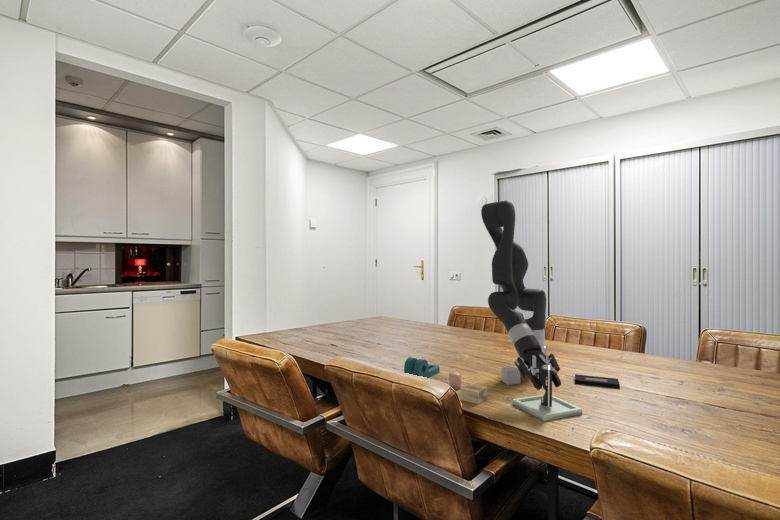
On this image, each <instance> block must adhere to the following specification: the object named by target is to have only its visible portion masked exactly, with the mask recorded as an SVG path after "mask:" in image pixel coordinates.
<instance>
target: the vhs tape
mask: <svg viewBox="0 0 780 520" xmlns="http://www.w3.org/2000/svg"><path fill="white" fill-rule="evenodd" d="M574 384H575V385H584V386H591V387H592V386H593V387H599V388H600V387H601V388H609V389H610V388H611V389H618V390H620V388H621V385H620V381H619V378H614V377H605V376H596V375H595V376H593V375H586V374H585V375H584V374H577V373H576V374H574Z"/></svg>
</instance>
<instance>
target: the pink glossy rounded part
mask: <svg viewBox="0 0 780 520" xmlns="http://www.w3.org/2000/svg"><path fill="white" fill-rule="evenodd" d="M462 381H463V380H462V373H461V372H459V371H451V372H449V373H448V386H449V385H450V386H451V387H452V388H453V389H452V390H462V388H463V387H462Z"/></svg>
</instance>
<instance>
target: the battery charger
mask: <svg viewBox="0 0 780 520" xmlns="http://www.w3.org/2000/svg"><path fill="white" fill-rule="evenodd" d="M538 379H539V382H540V384H541V385H542V389H544V391H545V392H544V393H543V395H544V396H543V397H541V405H542V406H548V407H552V395H553V381H552V366H551V365H541V366H540V367H539V373H538Z"/></svg>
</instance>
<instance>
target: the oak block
mask: <svg viewBox="0 0 780 520" xmlns="http://www.w3.org/2000/svg"><path fill="white" fill-rule="evenodd" d="M487 400H488V387H486V386H482V385H479V384H473V383H470V384H468V385H465V386H464V387H462V388H461V401H464V402H469V403H472V404H476V405H480V404H481V403H483V402H485V401H487Z"/></svg>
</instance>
